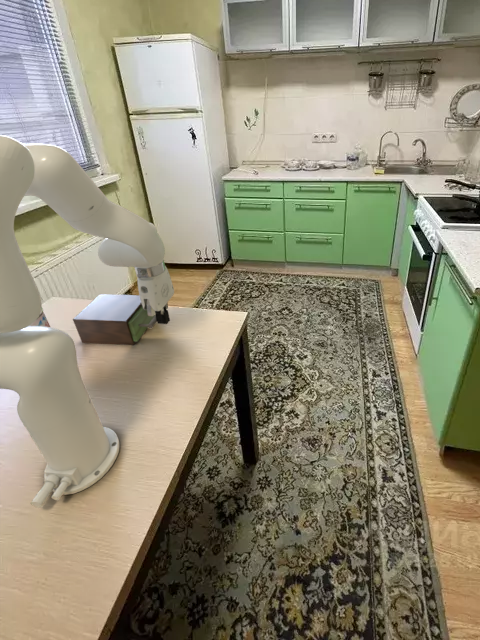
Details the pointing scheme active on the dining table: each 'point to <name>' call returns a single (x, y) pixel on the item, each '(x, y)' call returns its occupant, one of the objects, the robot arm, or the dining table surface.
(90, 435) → the robot arm
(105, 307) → the cabinet
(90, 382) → the dining table surface
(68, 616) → the dining table surface
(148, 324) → the drawer
